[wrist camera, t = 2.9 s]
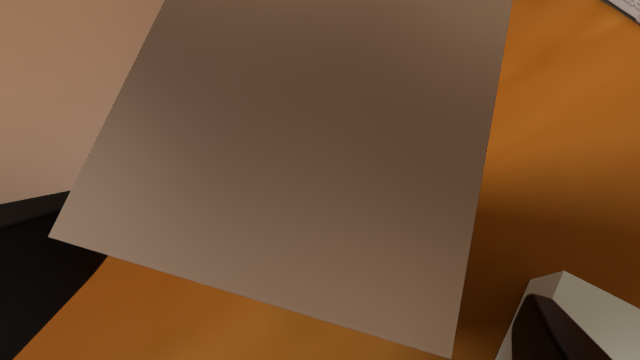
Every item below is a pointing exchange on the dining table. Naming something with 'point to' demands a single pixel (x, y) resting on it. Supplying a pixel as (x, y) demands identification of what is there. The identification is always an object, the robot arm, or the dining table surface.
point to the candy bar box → (627, 8)
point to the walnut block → (303, 156)
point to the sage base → (588, 314)
